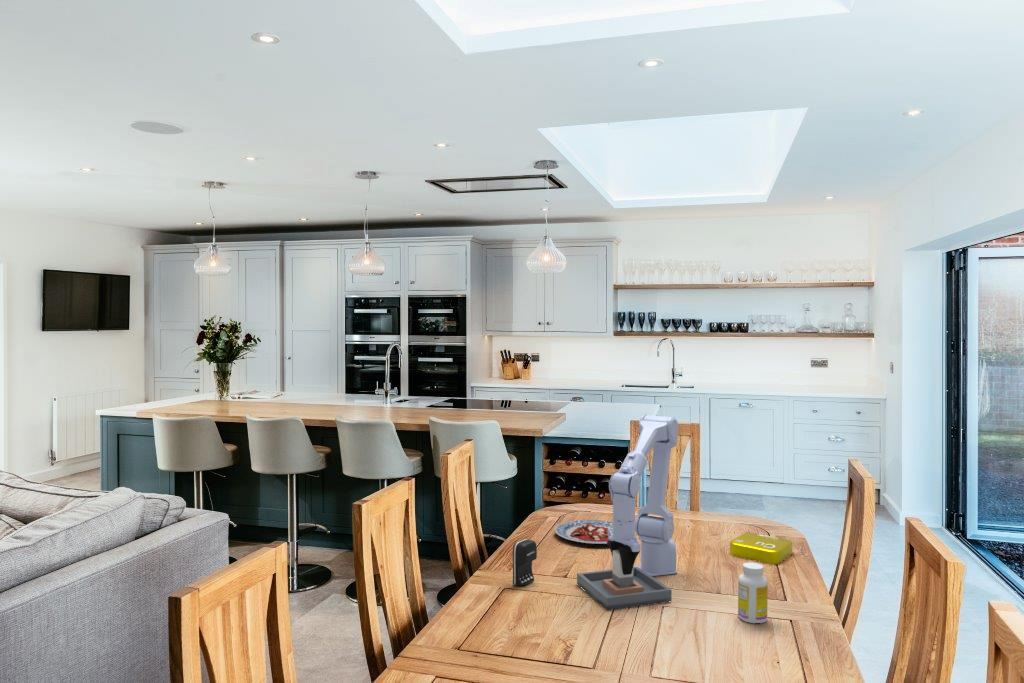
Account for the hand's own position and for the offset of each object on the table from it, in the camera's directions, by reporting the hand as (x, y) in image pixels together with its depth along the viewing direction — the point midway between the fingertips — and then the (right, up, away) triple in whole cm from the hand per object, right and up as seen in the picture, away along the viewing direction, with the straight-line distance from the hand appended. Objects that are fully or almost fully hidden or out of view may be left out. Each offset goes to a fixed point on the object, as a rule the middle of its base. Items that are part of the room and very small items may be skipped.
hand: (623, 571), depth 186 cm
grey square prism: (0, -3, 0) cm, 3 cm away
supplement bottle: (+29, -7, -15) cm, 33 cm away
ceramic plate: (-2, -5, +49) cm, 49 cm away
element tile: (+47, -6, +33) cm, 58 cm away
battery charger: (-25, -6, +6) cm, 27 cm away
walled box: (0, -6, 0) cm, 6 cm away
